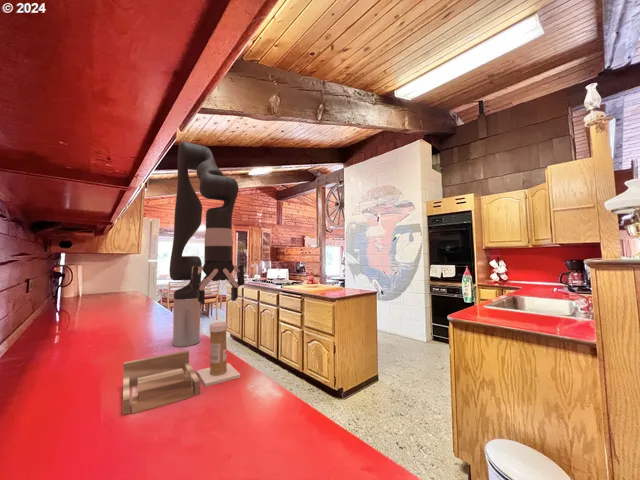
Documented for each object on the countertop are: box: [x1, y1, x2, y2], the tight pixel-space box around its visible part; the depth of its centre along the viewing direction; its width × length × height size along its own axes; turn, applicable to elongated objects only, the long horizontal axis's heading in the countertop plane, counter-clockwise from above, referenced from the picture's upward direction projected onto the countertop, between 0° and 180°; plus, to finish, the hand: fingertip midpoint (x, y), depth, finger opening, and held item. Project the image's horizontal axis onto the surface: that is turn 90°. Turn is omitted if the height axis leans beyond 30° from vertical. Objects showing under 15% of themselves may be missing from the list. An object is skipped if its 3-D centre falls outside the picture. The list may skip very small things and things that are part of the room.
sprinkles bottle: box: [209, 321, 228, 375], centre depth 77 cm, size 5×5×14 cm
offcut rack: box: [122, 349, 201, 416], centre depth 69 cm, size 16×15×6 cm
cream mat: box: [196, 362, 241, 388], centre depth 77 cm, size 10×9×1 cm
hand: (218, 302), depth 78 cm, fingers open, 8 cm apart
